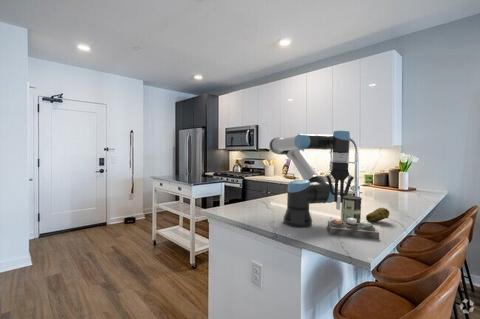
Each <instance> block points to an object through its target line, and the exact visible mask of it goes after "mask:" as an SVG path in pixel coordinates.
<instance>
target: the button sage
mask: <svg viewBox="0 0 480 319" xmlns="http://www.w3.org/2000/svg"><path fill="white" fill-rule="evenodd" d="M361 223H362V224H361V226H364V227H371V224H372V222H369V221H361Z"/></svg>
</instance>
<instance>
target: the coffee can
mask: <svg viewBox="0 0 480 319" xmlns="http://www.w3.org/2000/svg"><path fill="white" fill-rule="evenodd" d="M362 200H363V199H362V197H361V196H356V195H348V194H347V195H345V196H343V203H341V205H340V211H341V212H340V213H341V214H340V220H342V221H343V222H347V218H355V219H357V223H361V219H362V218H361V215H362V214H361V213H362Z"/></svg>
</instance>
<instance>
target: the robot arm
mask: <svg viewBox="0 0 480 319" xmlns="http://www.w3.org/2000/svg"><path fill="white" fill-rule="evenodd" d="M350 134H351V133H350V130H345V129H337V130H336V129H335V130H334V131H333V133H332V134H308V133H298V134H297V135H296V136H291V137H284V136H283V137H275V138H272V139H271V140H270V142H269V149H270V151H271V152H272V153H273V154H276V155H283V156H284V155H285V156H286V157H287V158H288V160H291V161H292V163H293V164H294V166H295V168H296V169H297V171H298V172H299V175H300V176H301V179H296V180H291V181H289V182H288V185H287V199H286V200H287V201H286V202H287V203H286V210H285V213H284V216H283V222H282V223H284V225H286V226H289V227H292V228H299V229H300V228H303V229H304V228H310V227H312V225H313V220H312V216H311V213H310V212H311V211H310V204H315V205H316V204H326V203H330V202H332V201H334V203H336V207H335V209H336V210H338V211H341V204H342V203H343V196H345V195H348V194H349V191H350V187H351V184H352V181H353V180H354V179H355V177H354V176H352V175H351V174H350V172H349V166H350V165H349V161H350V141H351V135H350ZM305 150H332V156H331V157H332V158H331V160H332V162H331V171H330V173H328V174H326V175H325V177H326V178H327V181H326V180H325V178H324V177H323V176H321V175H319V174H318V173H317V172H316V170H315V169H314V167H313V165H312V163H311V162H310V161H309V160H308V158H307V156H306V155H305V154H304V153H305V152H304V151H305ZM332 178H333V179H334V184H333V182H332ZM346 179H347V182H346V186H344V185H345V180H346ZM339 181H340V184H339ZM339 185H340V187H339ZM344 187H345V188H344Z"/></svg>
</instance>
